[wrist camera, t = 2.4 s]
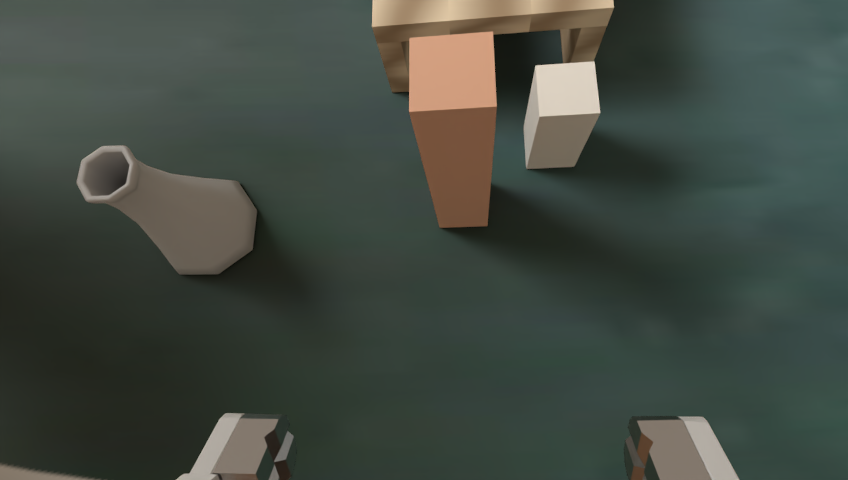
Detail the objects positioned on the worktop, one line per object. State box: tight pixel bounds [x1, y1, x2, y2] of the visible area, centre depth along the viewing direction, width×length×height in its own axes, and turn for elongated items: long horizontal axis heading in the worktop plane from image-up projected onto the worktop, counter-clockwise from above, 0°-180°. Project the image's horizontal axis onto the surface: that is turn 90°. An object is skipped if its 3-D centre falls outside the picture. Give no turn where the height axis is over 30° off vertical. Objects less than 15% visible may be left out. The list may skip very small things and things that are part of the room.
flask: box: [77, 145, 257, 275], centre depth 29 cm, size 7×7×10 cm
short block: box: [524, 61, 600, 169], centre depth 29 cm, size 3×3×7 cm
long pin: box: [409, 31, 497, 228], centre depth 25 cm, size 3×3×15 cm
